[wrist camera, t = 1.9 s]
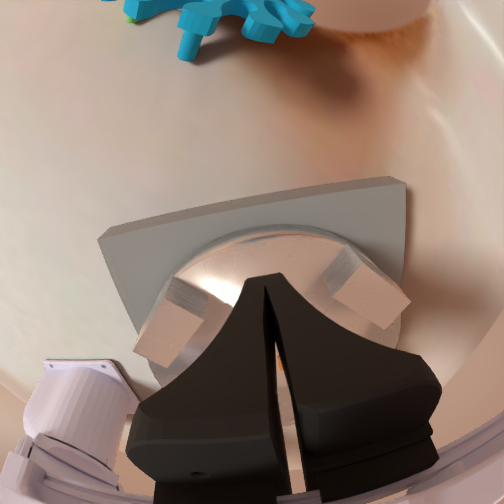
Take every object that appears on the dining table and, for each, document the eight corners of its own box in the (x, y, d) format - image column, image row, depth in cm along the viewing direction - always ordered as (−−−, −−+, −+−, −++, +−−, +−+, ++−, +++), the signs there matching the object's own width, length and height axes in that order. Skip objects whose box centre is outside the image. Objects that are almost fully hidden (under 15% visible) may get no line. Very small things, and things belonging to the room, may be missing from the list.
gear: (344, 5, 10) (265, 39, 6) (295, 70, 16) (206, 156, 11) (188, -62, 9) (47, -32, 4) (166, 2, 14) (48, 59, 9)
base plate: (190, 403, 24) (187, 421, 22) (110, 227, 17) (95, 241, 15) (376, 370, 24) (384, 387, 22) (389, 176, 16) (407, 183, 14)
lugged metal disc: (194, 416, 22) (191, 454, 18) (114, 254, 15) (85, 291, 11) (376, 384, 21) (391, 419, 18) (394, 203, 15) (434, 228, 11)
